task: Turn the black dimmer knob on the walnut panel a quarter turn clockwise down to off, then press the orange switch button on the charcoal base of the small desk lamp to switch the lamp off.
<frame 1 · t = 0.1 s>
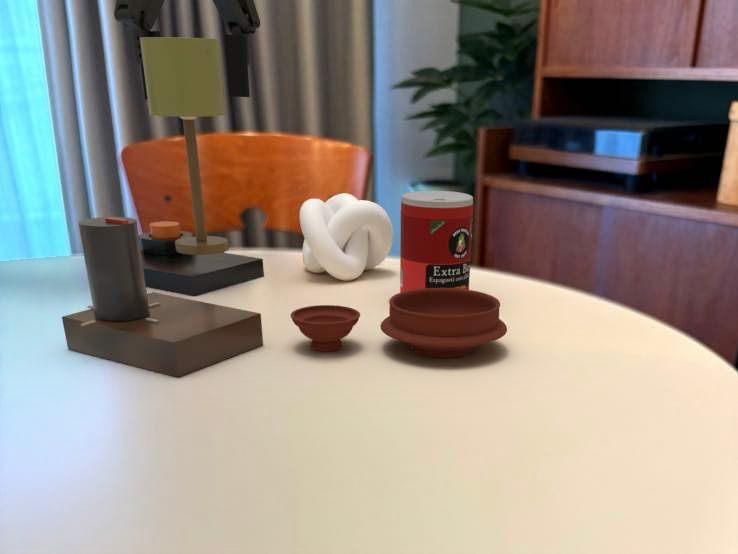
hand: (199, 98, 96), 19 cm above the table, tool pointing down, fingers open, 13 cm apart
desk lamp: (202, 249, 96), resting on lamp base
lamp base: (181, 277, 101), on the table
dimmer knob: (114, 267, 73), point 7 cm above the table, hinge at 0.0°
canned food: (434, 302, 93), on the table
lamp switch: (165, 231, 103), point 4 cm above the table, slide at 0.1 cm
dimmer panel: (166, 347, 77), on the table
pottery: (398, 349, 78), on the table
white knot sculpture: (339, 277, 103), on the table
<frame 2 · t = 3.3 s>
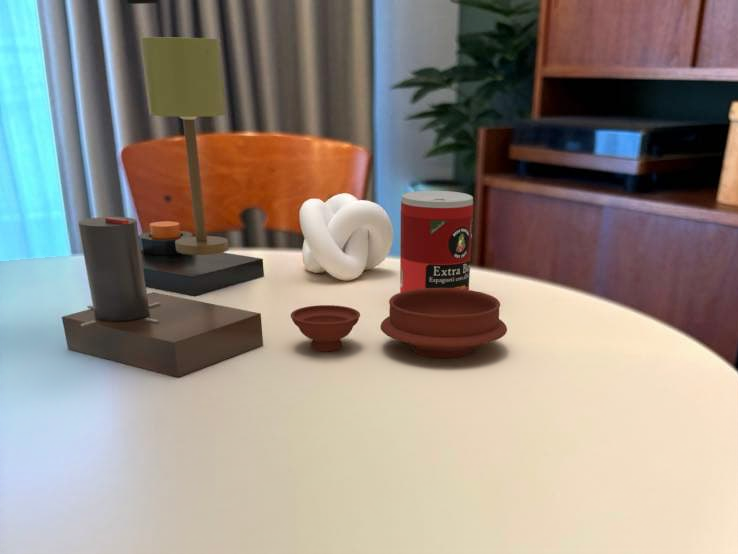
nothing on the table moved.
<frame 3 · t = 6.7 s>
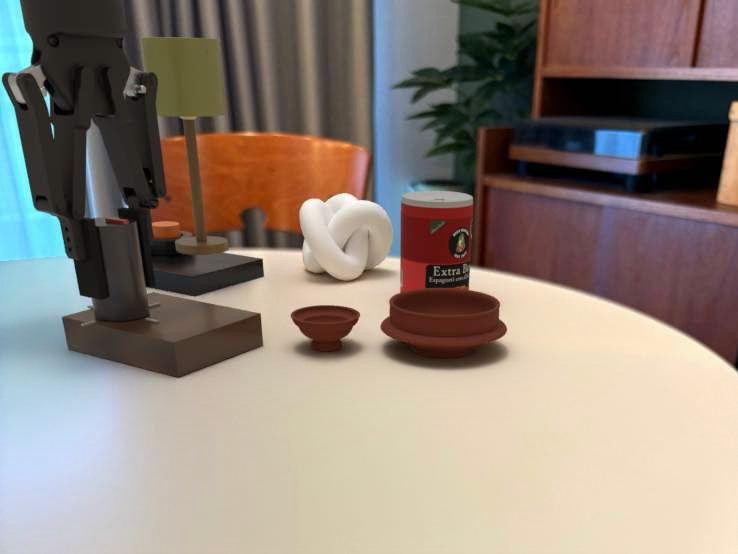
hand: (118, 289, 74), 5 cm above the table, tool pointing down, fingers closed on dimmer knob, 5 cm apart
dimmer knob: (114, 267, 73), point 7 cm above the table, hinge at -0.1°, touching gripper
everything else where it was.
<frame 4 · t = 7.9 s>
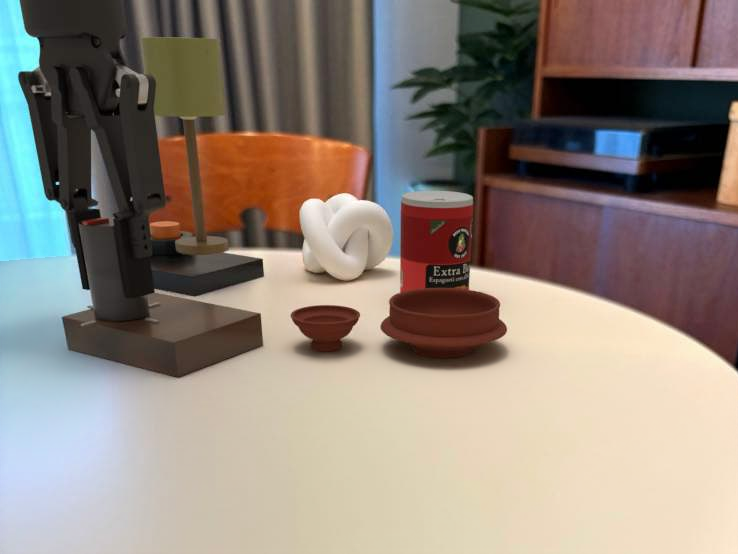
hand: (118, 290, 74), 5 cm above the table, tool pointing down, fingers closed on dimmer knob, 5 cm apart
dimmer knob: (114, 267, 73), point 7 cm above the table, hinge at -90.4°, touching gripper
everything else where it was.
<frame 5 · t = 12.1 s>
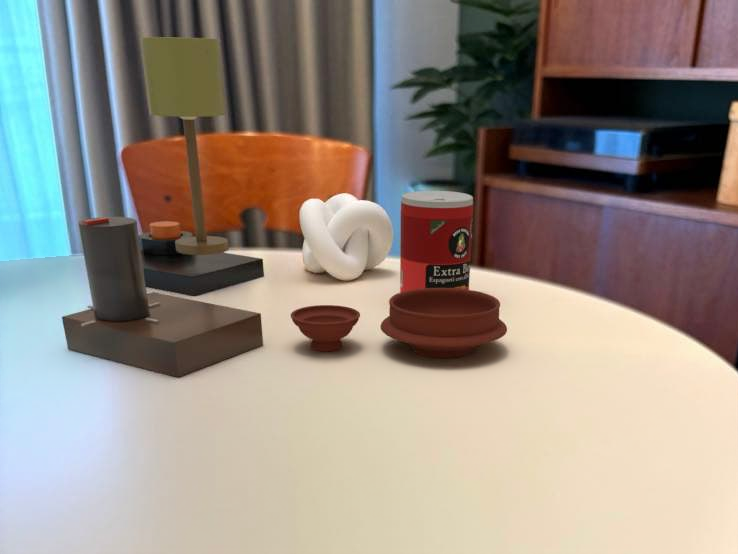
dimmer knob: (114, 267, 73), point 7 cm above the table, hinge at -90.3°
everything else where it was.
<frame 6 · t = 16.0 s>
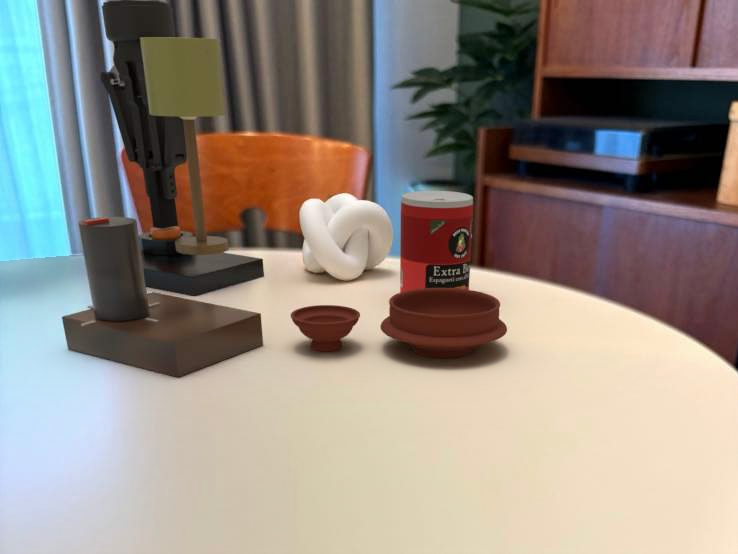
hand: (165, 226, 103), 5 cm above the table, tool pointing down, fingers closed
lamp switch: (166, 235, 103), point 4 cm above the table, slide at -0.5 cm, touching gripper
everything else where it was.
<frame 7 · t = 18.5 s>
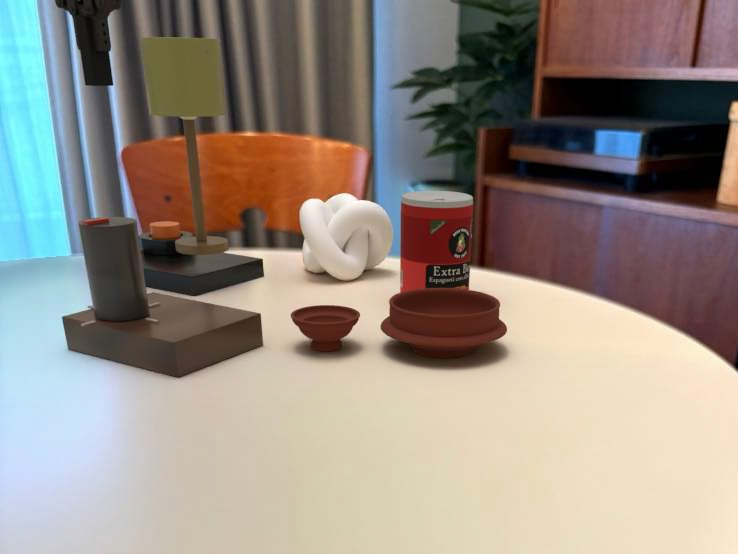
hand: (99, 85, 93), 20 cm above the table, tool pointing down, fingers closed
lamp switch: (165, 231, 103), point 4 cm above the table, slide at 0.1 cm
everything else where it was.
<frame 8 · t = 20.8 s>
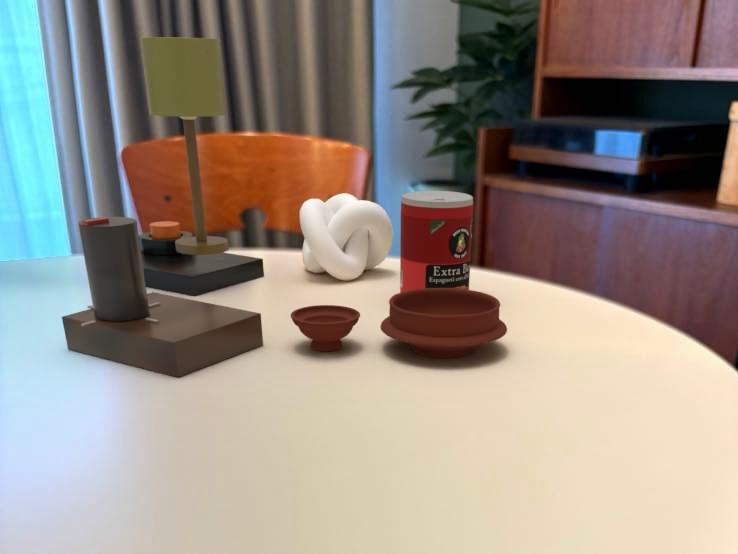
nothing on the table moved.
at the end: dimmer knob at -90° (first picture: +0°); lamp switch pushed in 1.0 cm at the most during the clip, back to where it started at the end; lamp switch slide at 0.1 cm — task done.
